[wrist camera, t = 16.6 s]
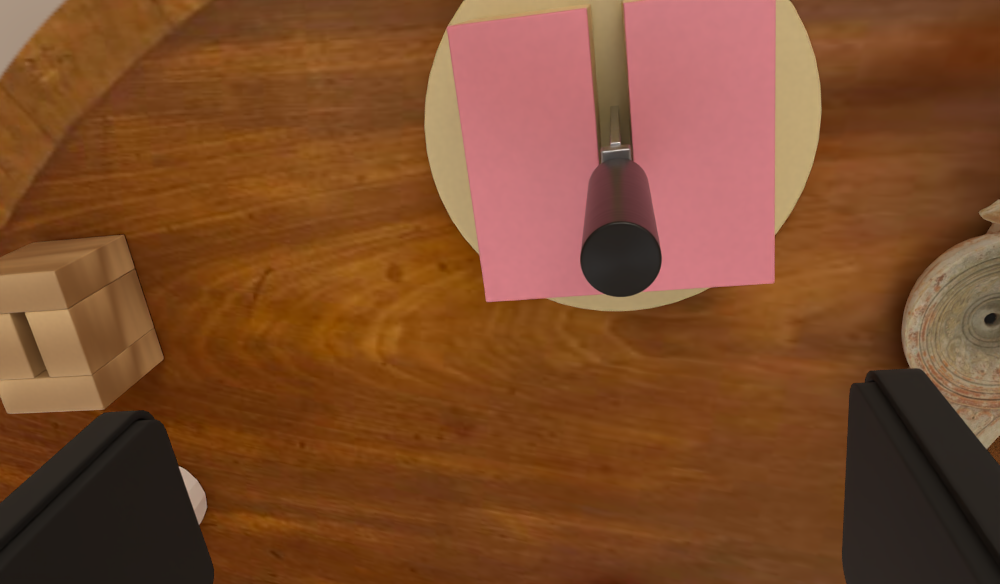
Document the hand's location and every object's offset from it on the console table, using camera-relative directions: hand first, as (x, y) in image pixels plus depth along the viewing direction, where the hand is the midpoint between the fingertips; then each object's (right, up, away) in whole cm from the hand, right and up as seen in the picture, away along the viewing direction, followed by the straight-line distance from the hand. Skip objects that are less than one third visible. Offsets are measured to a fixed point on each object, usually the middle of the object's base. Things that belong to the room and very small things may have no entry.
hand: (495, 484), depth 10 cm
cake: (+6, +11, +27) cm, 30 cm away
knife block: (-24, +2, +35) cm, 42 cm away
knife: (+6, +10, +27) cm, 29 cm away
